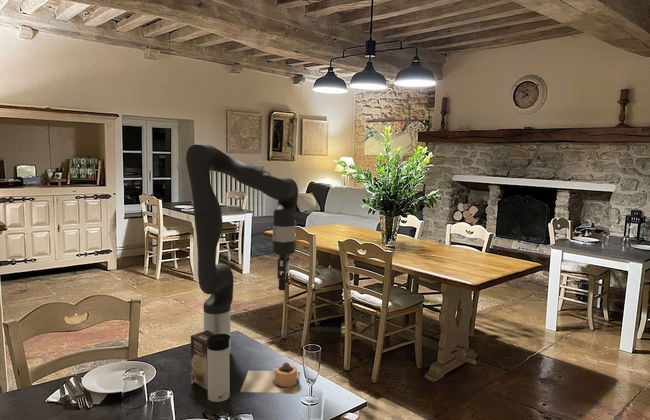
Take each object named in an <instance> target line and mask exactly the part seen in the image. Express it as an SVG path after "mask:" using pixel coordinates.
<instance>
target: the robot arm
mask: <svg viewBox="0 0 650 420" xmlns="http://www.w3.org/2000/svg"><path fill="white" fill-rule="evenodd" d="M185 163H186V168H187V172H188V177H189V181H190V187H191V194H192V195H191V196H192V197H191V198H192V204H193V205H192V206H193V215H194V216H193V218H194V227H195V234H196V244H197V245H196V246H197V280H198V285H199V288H200V290H201V291H202V292H203V293H204V294H205V295H210V296H209V297H208V298H207V299H206V300H205V302H203V332H204V331H207V330H208V331H210V332H212V333H214V334H228V335H230V339H229V355H231V351H232V350H231V345H232V344H231V342H232V341H231V337H232V335H231V334H232V333H231V306H232V303H233V300H234V299H233V297H234V274H233V271H232V268H231V267H230V266H229V265H227V264H225V263H219V264H218V263H217V264H216V252H217V247H218V244H219V241H220V238H221V235H222V232H223V227H224V226H223V214H222V208H221V204H220V202H219V200H218V198H217V196H216V194H215V191H214V189H213V187H212V183H211V177H210V175H211V174H210V172H211V171H212V172H216V173H222V174H225V175H227V176H230V177H231V178H233V179H234V180H236V181H237V182H239V183H241V184H243V185H245V186H247V187H249V188H251V189H254V190H257V191H259V192H262V193H263V194H265V195H266V196H268V197H270V198H271V199H273V200H276V201H277V206H276V208H275V209H274V211H273V216H272V217H273V225H272V227H273V228H272V253H273V254H274V255H279V257H278V259H277V260H276V262H277V263H276V264H277V269H276V272H277V276H276V277H277V280H278V290H279V291H285V290H286V288H287V287H286V285H287V283H289V272H290V267H291V257H290V256H291V255H293V254H295V252H296V228H295V225H296V223H295V222H296V215H295V213H296V208H297V204H298V203H297V202H298V196H299V187H298V184H297V182H296V181H295V180H294V179H292V178H290V177H286V178H279V177H277V176H274V175H272V173H270V172H269V171H267V170H265V169H263V168H260V167H258V166H255V165H252V164H249V163H246V162H244V161H241V160H238V159H236V158H234V157H232V156H230V155H229V154H227V153H225V152H223V151H222V150H220V149H218V148H217V147H215V146H213V145H211V144H207V143H206V144H205V143H194V144H191V145H190V146H189V147H188V149H187V150H186V153H185Z"/></svg>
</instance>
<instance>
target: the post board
mask: <svg viewBox="0 0 650 420" xmlns="http://www.w3.org/2000/svg"><path fill="white" fill-rule="evenodd" d="M281 365H282V372H285V373H289V372H290V365H291V364H290V363H288V362H283V364H281ZM300 377H301V371H297V380H296V384H294V385H292V386H290V387H287V386H279V385H277V384H276V383H275V370H272V371H271V370H248V371H247V373H246V376H245V378H244V381H243V383H242V386H241V388H240V390H239V393H264V394H265V393H266V394H268V393H269V394H295V395H296V394H297V393H298V390H299V384H300Z"/></svg>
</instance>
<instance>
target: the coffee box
mask: <svg viewBox="0 0 650 420" xmlns="http://www.w3.org/2000/svg"><path fill="white" fill-rule="evenodd" d="M213 335H216V334H214V333H212V332H210V331H208V330H207V331H204V330H203V331H201V332H198V333H195V334H192V335H190V371H191V373H190V378H191V379H190V381H191V383H190V384H191V385H193V384H194V383H195V384H197V385H199V386H200V387H201V388H203V389H204V390H207V391H208V371H207V345H208V344H207V340H208V338H210V337H211V336H213Z"/></svg>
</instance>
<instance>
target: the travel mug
mask: <svg viewBox="0 0 650 420" xmlns="http://www.w3.org/2000/svg"><path fill="white" fill-rule="evenodd" d="M229 339H230V335H228V334H216V335H213V336H211V337H210V338H208V340H207V344H208V345H207V371H208V389H207V399H208V401H210V402H214V403H219V402H223V401H227V400H228V399H229V398H230V396H231V395H230V392H231V391H230V386H231V383H230V380H231V379H230V377H231V376H230V367H231V366H230V354H229Z"/></svg>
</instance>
